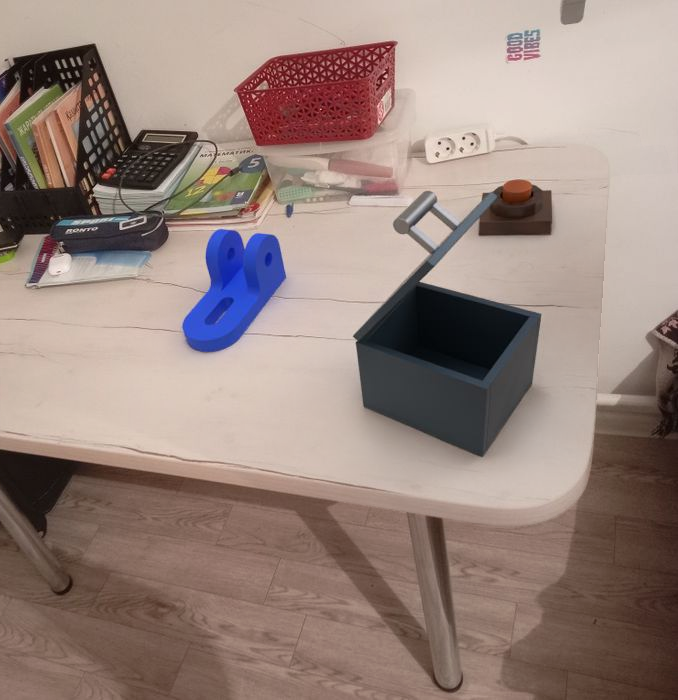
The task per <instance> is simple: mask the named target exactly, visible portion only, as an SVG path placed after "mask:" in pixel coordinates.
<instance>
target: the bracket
mask: <svg viewBox="0 0 678 700" xmlns="http://www.w3.org/2000/svg"><path fill="white" fill-rule="evenodd" d="M205 264H206V269H207V271H208V275H209V278H210V279H209V280H210V285H209V288H208V290H207V291H206V292H205V294H204V295H203V296H202V297H201V298H200V300H199V301H198V302H197V303H196V304H195V305H194V307H193V308H192V309H191V310H190V311H189V313H187V314H186V316H185V318H184V319H183V321H182V325H181V327H182V331H183V335H184V337H185V341H186V342H187V344H188V345H189V347H190V348H191V349H193V350H196V351H199V352H203V353H213V352H218V351H221V350H224V349H226V348H228V347H230V346H232V345H233V344H235V343H236V342H237V341H238V340H240V339H241V337H242V336H243V334H245V332H246V331H247V329H248V328H249V326H250V325H251V324H252V323H253V321H254V320H255V319H256V317H257V316H258V315H259V313H260V312H261V311H262V309H263V308H264V307H265V306H266V304H267V303H268V302H269V300H270V299H271V298H272V297H273V295H274V294H275V293H276V291H277V290H278V288H279V287H280V286H281V285H282V283H283V282H284V281H285V279H286V278H287V274H286V270H285V263H284V260H283V253H282V249H281V244H280V241H279V239H278V237H277V236H276V235H274V234H270V233H263V232H262V233H260V232H257V233H254V234H252V235H251V236H250V238H249V239H248V240H247V243H246V245H244V240H243V238H242V235H241V234H240V233H239V231H237V230H233V229H227V228H226V229H225V228H219V229H216V230H215V231H214V232H213V233H212V234H211V235H210V237H209V239H208V241H207V245H206V249H205Z"/></svg>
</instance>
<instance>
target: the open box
mask: <svg viewBox="0 0 678 700" xmlns="http://www.w3.org/2000/svg"><path fill="white" fill-rule="evenodd" d="M541 321H542V313H540V312H536V311H532V310H528V309H525V308H522V307H517V306H514V305H509V304H506V303H503V302H498V301H496V300H495V301H494V300H491V299H486V298H483V297H479V296H476V295H471V294H467V293H464V292H461V291H458V290H457V291H456V290H453V289H449V288H446V287H441V286H438V285H434V284H430V283H426V282H422V281H419V282H418V283H417V284H416V285H415V286H414V287H413V288H412V289H411V290H410V291H409V292H408V293H407V294H406V295H405V296H404V297H403V298H402V299H401V300H400V301H399V302H398V303H397V304H396V305H395V306H394V307H393V308H392V309H391V310H390V311H389V312H388V313H387V314H386V315H385V316H384V317H383V318H382V319H381V320H380V321H379V322H378V323H377V324H376V325H375V326H374V327H373V328H372V329H370V330H369V331H368V332H367V333H366V334H365V335H364V336H363V337H362V338H361V339H360V340H359V341H357V340H356V341H355V347H356V356H357V364H358V372H359V373H358V374H359V380H360V382H359V383H360V389H361V390H360V391H361V397H362V405H363V407H364V408H366V409H368V410H371V411H373V412H375V413H377V414H380V415H382V416H385V417H387V418H390V419H392V420H394V421H397V422H399V423H401V424H404V425H406V426H408V427H411V428H413V429H415V430H417V431H420V432H422V433H425V434H427V435H429V436H432V437H434V438H436V439H439V440H441V441H443V442H445V443H448V444H450V445H453V446H455V447H458V448H460V449H461V450H464V451H467V452H469V453H472V454H474V455H476V456H478V457H480V458H484V456H485V454H487V452H488V450H489V448H490V447H491V445H492V444H493V443H494V441H495V440H496V438H497V437H498V435H499V434H500V432H501V431H502V430H503V428H504V427H505V425H506V423H507V422H508V420H509V419H510V417H511V416H512V415H513V413H514V412H515V411H516V408H517V407H518V406H519V404H520V403H521V401H522V400H523V398H524V397H525V395H526V394H527V392H528V391H529V389H530V388H531V386H532V385H533V381H534V372H535V367H536V359H537V352H538V343H539V336H540V330H541V329H540V328H541Z"/></svg>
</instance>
